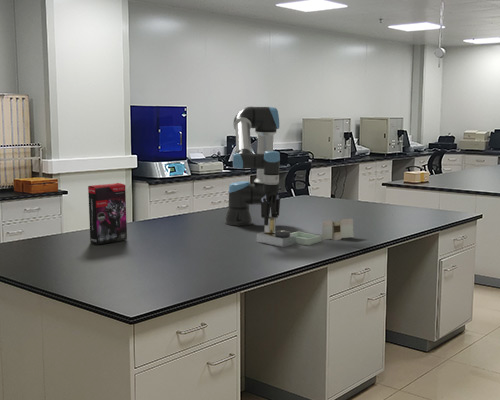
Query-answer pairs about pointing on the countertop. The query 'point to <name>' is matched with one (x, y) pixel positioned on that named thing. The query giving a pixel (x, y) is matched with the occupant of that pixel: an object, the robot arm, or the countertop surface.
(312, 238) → the tray
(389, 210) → the countertop surface
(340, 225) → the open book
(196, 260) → the countertop surface
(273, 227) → the lock pin
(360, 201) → the countertop surface
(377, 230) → the countertop surface
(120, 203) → the graphics card box
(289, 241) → the base
